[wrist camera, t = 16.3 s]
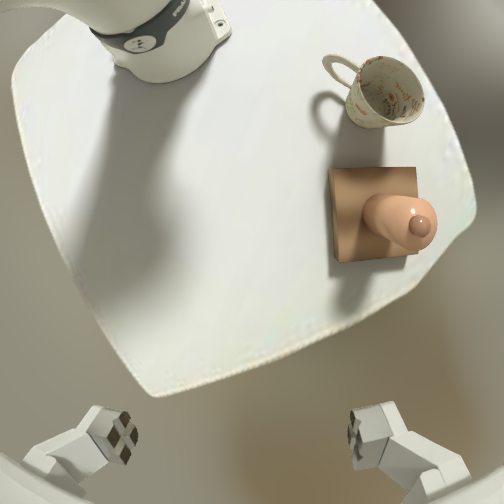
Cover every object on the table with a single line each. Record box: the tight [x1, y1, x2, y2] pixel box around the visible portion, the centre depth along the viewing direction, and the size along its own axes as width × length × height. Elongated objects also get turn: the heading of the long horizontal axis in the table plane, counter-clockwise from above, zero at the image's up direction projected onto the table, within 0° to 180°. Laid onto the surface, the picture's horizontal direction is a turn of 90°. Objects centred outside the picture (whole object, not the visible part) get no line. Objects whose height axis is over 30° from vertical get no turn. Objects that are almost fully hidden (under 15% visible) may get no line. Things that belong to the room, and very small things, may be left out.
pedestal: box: [328, 167, 418, 263], centre depth 35 cm, size 12×12×3 cm
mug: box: [322, 54, 424, 129], centre depth 28 cm, size 8×13×10 cm, turn 56°
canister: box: [362, 193, 437, 251], centre depth 28 cm, size 5×5×11 cm
